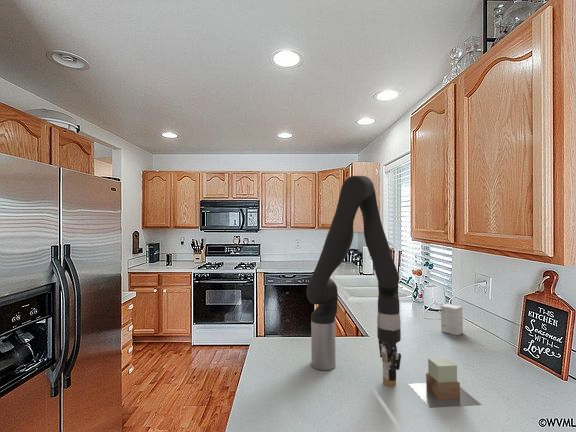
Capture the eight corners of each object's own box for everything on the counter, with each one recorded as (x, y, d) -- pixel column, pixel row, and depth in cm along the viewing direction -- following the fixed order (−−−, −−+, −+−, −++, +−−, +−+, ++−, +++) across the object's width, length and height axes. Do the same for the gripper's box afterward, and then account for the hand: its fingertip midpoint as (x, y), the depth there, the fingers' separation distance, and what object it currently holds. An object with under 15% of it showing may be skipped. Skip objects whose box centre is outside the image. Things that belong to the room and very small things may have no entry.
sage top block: (428, 373, 105) (428, 358, 106) (446, 372, 106) (445, 357, 106) (438, 382, 99) (438, 366, 100) (457, 381, 100) (456, 365, 100)
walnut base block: (426, 388, 106) (426, 373, 106) (446, 387, 106) (446, 372, 106) (438, 400, 99) (437, 383, 99) (460, 399, 99) (459, 382, 100)
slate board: (408, 387, 109) (408, 384, 109) (453, 384, 110) (453, 381, 110) (429, 411, 95) (429, 407, 95) (481, 408, 96) (481, 404, 96)
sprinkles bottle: (386, 381, 113) (385, 342, 113) (399, 386, 110) (398, 345, 110) (380, 386, 109) (379, 346, 110) (393, 391, 106) (392, 349, 106)
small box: (463, 332, 161) (462, 306, 162) (457, 335, 157) (457, 308, 158) (446, 328, 168) (446, 303, 168) (440, 331, 164) (440, 305, 164)
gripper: (370, 319, 117) (371, 367, 116) (386, 333, 102) (386, 388, 102) (391, 318, 117) (391, 366, 117) (409, 332, 103) (409, 386, 103)
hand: (389, 376), depth 109 cm, fingers closed on sprinkles bottle, 4 cm apart
